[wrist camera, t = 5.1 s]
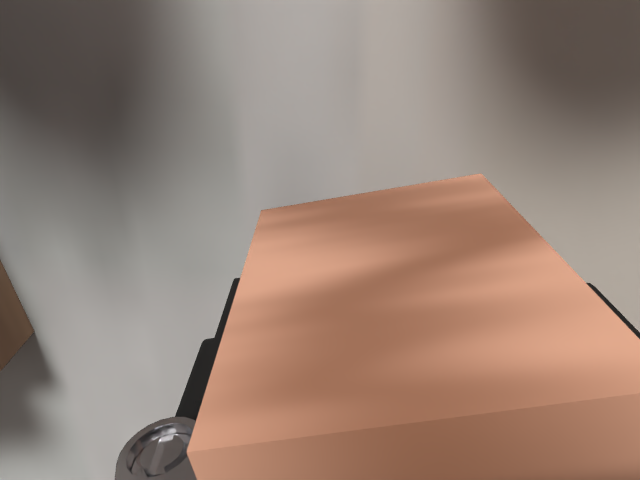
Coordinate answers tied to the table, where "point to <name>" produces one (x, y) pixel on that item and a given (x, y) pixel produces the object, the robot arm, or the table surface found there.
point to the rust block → (416, 349)
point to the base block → (11, 320)
